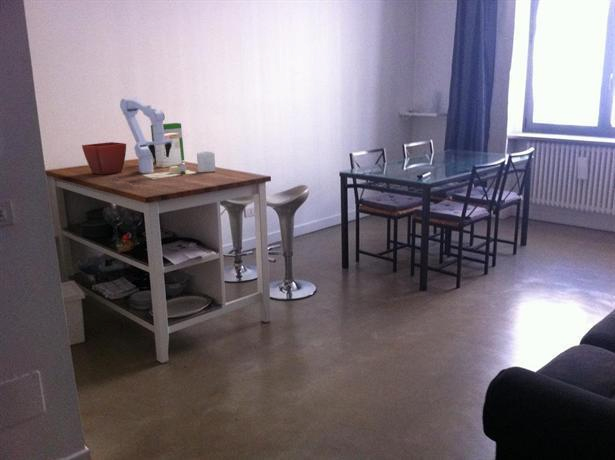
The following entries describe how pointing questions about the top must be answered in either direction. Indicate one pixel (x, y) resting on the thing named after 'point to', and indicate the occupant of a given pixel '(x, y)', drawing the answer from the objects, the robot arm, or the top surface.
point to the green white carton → (172, 129)
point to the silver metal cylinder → (182, 168)
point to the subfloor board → (166, 174)
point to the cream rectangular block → (175, 169)
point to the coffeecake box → (173, 154)
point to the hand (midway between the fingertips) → (161, 157)
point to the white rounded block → (206, 161)
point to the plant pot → (105, 157)
